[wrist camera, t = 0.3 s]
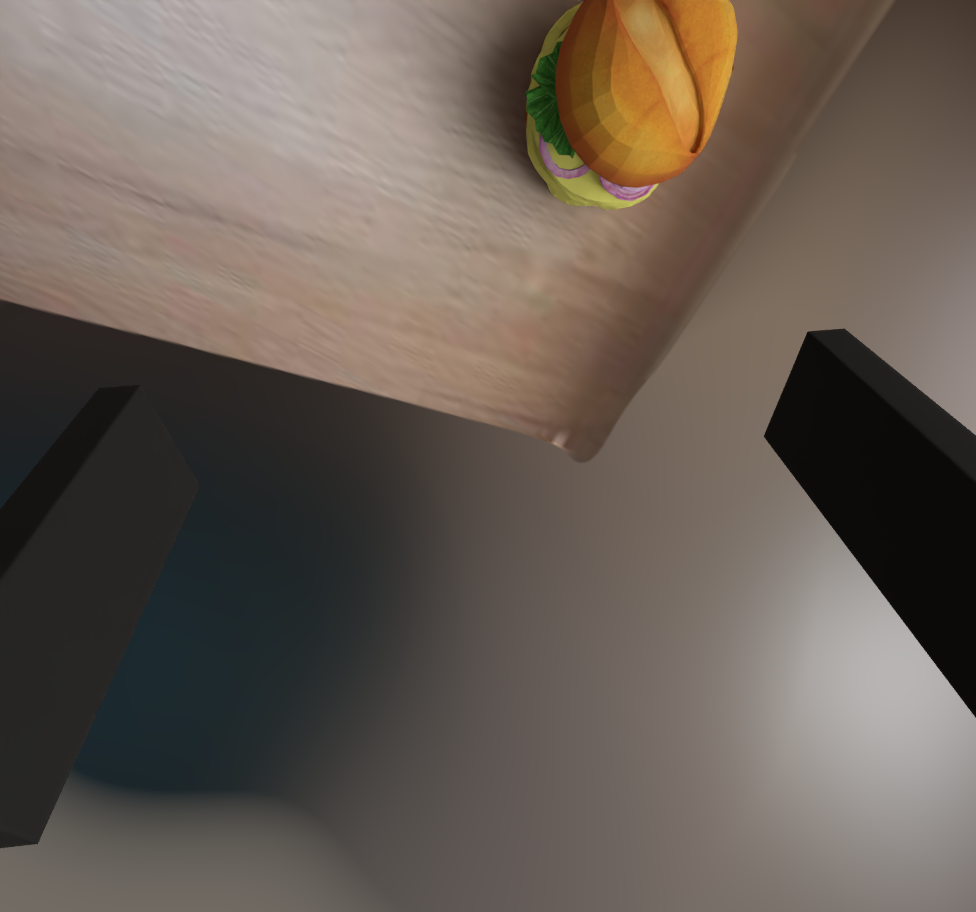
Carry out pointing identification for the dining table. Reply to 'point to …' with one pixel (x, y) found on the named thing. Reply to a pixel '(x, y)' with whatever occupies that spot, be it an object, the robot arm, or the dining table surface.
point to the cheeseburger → (627, 96)
